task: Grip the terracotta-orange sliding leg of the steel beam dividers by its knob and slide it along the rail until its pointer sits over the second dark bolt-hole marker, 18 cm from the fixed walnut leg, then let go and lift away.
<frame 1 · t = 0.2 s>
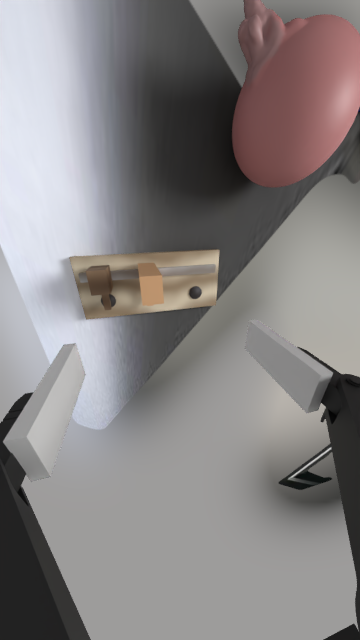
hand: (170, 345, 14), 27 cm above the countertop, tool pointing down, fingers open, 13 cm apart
wooden slotted board: (152, 282, 39), on the countertop
balloon: (249, 129, 32), on the countertop
divider leg: (150, 292, 31), point 8 cm above the countertop, slide at 8.0 cm
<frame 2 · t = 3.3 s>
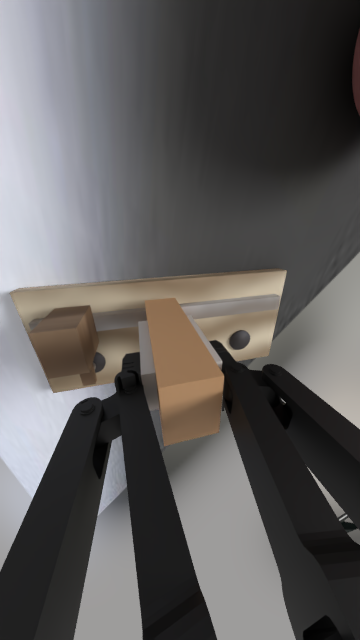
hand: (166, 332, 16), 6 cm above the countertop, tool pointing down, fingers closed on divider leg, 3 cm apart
wooden slotted board: (168, 326, 23), on the countertop
divider leg: (172, 366, 15), point 8 cm above the countertop, slide at 8.0 cm, touching gripper
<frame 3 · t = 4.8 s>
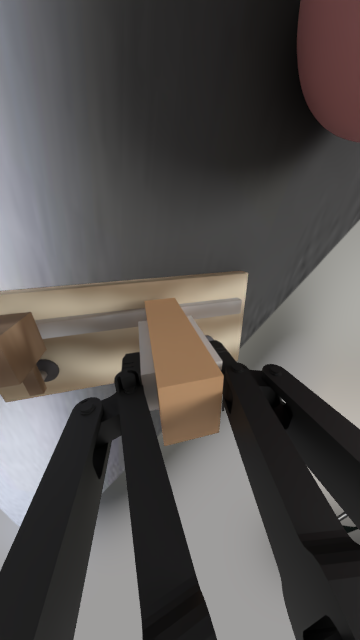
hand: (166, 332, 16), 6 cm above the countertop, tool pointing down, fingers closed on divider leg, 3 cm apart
wooden slotted board: (127, 331, 22), on the countertop
balloon: (322, 23, 15), on the countertop
divider leg: (172, 367, 15), point 8 cm above the countertop, slide at 12.9 cm, touching gripper
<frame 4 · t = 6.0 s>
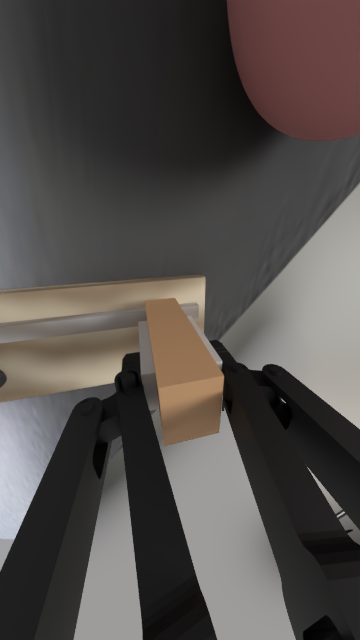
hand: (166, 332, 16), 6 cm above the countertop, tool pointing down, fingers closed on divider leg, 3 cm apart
wooden slotted board: (81, 337, 21), on the countertop
balloon: (268, 13, 14), on the countertop
divider leg: (172, 367, 15), point 8 cm above the countertop, slide at 17.9 cm, touching gripper
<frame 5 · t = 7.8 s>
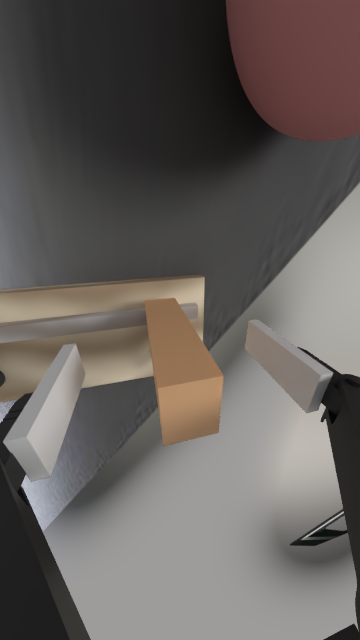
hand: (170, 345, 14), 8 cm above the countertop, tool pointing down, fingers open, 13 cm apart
wooden slotted board: (80, 337, 21), on the countertop
balloon: (267, 13, 14), on the countertop
divider leg: (171, 367, 15), point 8 cm above the countertop, slide at 18.0 cm
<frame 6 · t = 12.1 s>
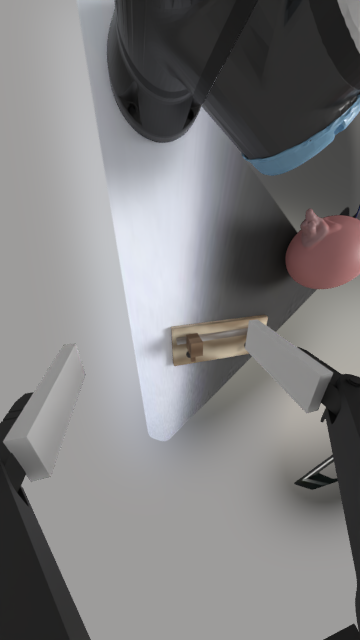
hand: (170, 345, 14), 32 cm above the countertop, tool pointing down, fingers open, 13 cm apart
wooden slotted board: (218, 338, 55), on the countertop
balloon: (293, 244, 48), on the countertop
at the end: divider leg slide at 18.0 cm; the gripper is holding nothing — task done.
